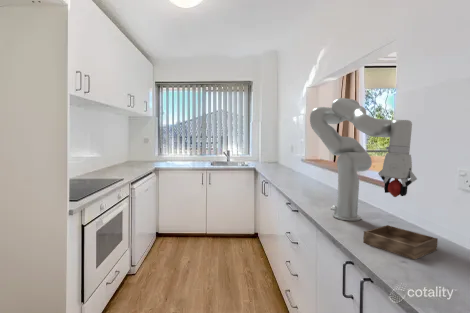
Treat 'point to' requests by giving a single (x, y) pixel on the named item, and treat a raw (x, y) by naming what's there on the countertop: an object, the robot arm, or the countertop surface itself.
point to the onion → (395, 187)
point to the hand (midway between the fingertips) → (395, 193)
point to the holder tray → (401, 241)
